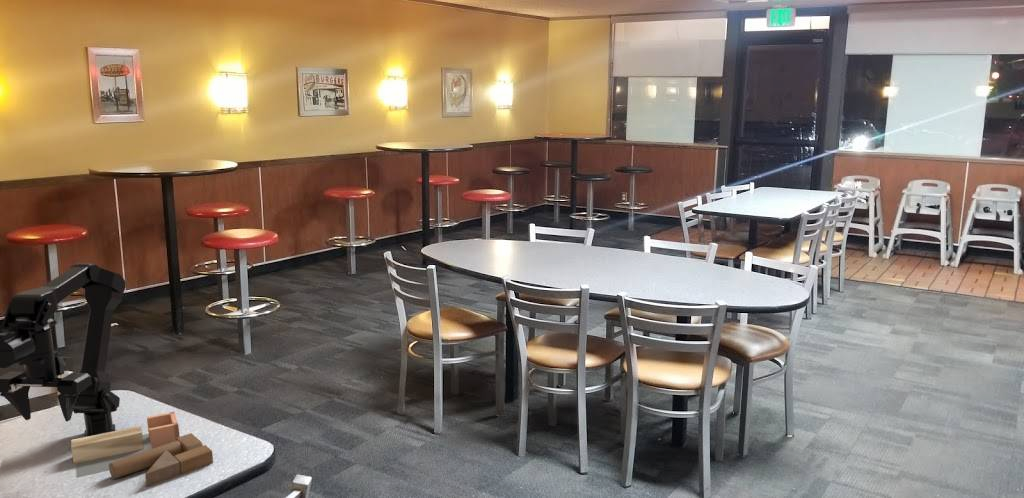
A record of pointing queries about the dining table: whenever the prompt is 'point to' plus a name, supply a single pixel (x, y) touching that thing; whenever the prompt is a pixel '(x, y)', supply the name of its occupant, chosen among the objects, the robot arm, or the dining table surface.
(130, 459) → the tan wooden pieces
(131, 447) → the wooden building block
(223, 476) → the dining table surface
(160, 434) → the u-shaped bracket
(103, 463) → the board
